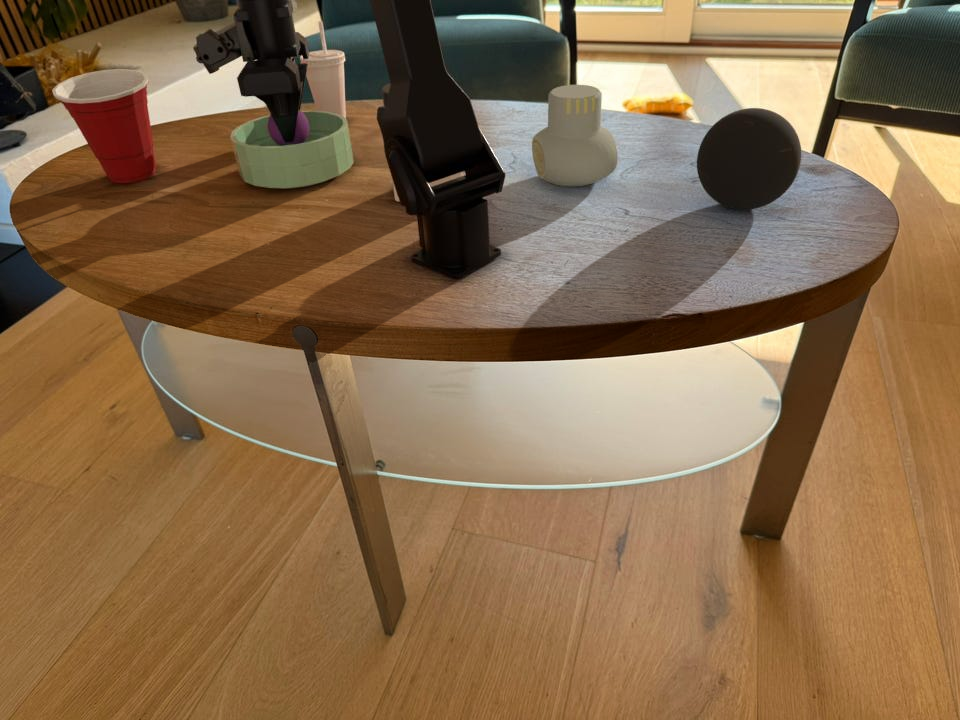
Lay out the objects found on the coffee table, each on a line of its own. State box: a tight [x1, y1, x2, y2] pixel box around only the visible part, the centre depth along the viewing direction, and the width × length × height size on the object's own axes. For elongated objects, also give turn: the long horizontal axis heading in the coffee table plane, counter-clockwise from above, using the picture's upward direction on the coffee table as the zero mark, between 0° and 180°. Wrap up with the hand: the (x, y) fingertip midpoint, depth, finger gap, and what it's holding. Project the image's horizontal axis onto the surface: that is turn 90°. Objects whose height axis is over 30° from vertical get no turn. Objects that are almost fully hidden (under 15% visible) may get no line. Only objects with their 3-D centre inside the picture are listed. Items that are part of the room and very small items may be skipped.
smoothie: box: [299, 20, 347, 119], centre depth 102 cm, size 6×6×14 cm
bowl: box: [229, 110, 355, 189], centre depth 89 cm, size 14×14×6 cm
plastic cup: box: [51, 68, 157, 184], centre depth 89 cm, size 11×11×12 cm
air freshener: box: [531, 84, 619, 188], centre depth 81 cm, size 11×8×10 cm
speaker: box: [696, 107, 802, 211], centre depth 73 cm, size 10×10×10 cm
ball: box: [268, 109, 309, 146], centre depth 87 cm, size 5×5×5 cm
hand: (291, 135), depth 88 cm, fingers closed on ball, 5 cm apart
